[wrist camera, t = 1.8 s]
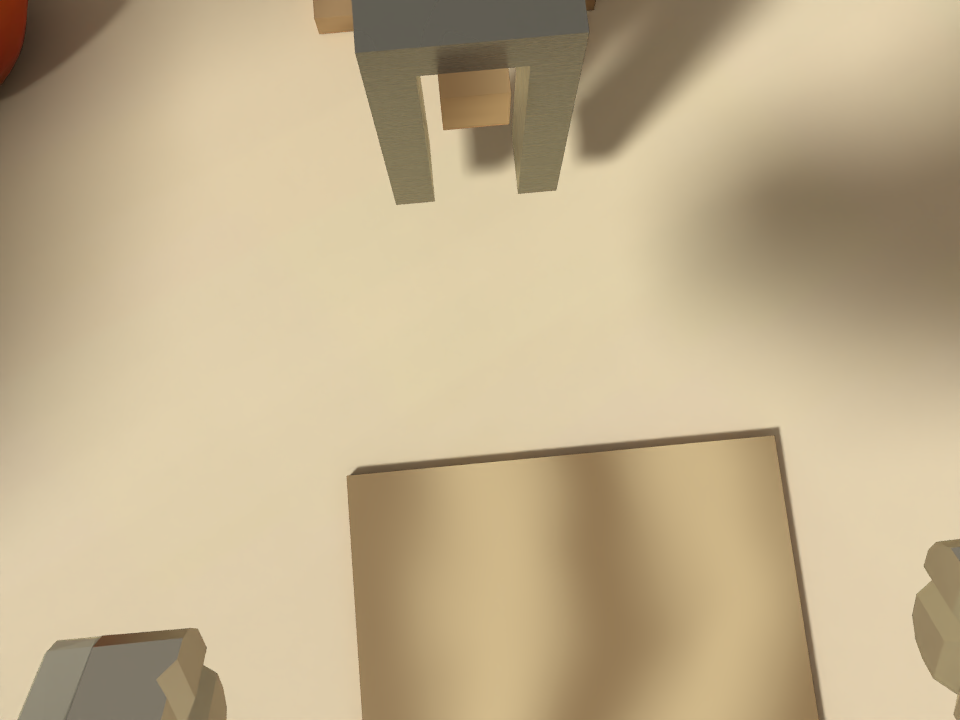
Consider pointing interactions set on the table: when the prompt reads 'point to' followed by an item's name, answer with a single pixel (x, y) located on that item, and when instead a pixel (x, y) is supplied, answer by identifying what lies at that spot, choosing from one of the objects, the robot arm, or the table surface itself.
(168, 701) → the robot arm
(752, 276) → the table surface
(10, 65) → the fruit
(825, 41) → the table surface
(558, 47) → the arch
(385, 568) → the mat
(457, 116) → the stand
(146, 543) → the table surface
